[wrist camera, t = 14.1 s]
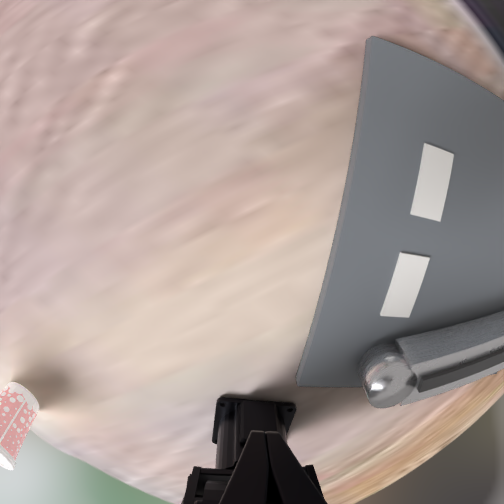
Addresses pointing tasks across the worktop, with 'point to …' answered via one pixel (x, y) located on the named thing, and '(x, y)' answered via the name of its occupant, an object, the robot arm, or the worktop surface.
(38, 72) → the worktop surface
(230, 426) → the robot arm
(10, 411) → the beverage cup
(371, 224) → the label board
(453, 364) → the bar
